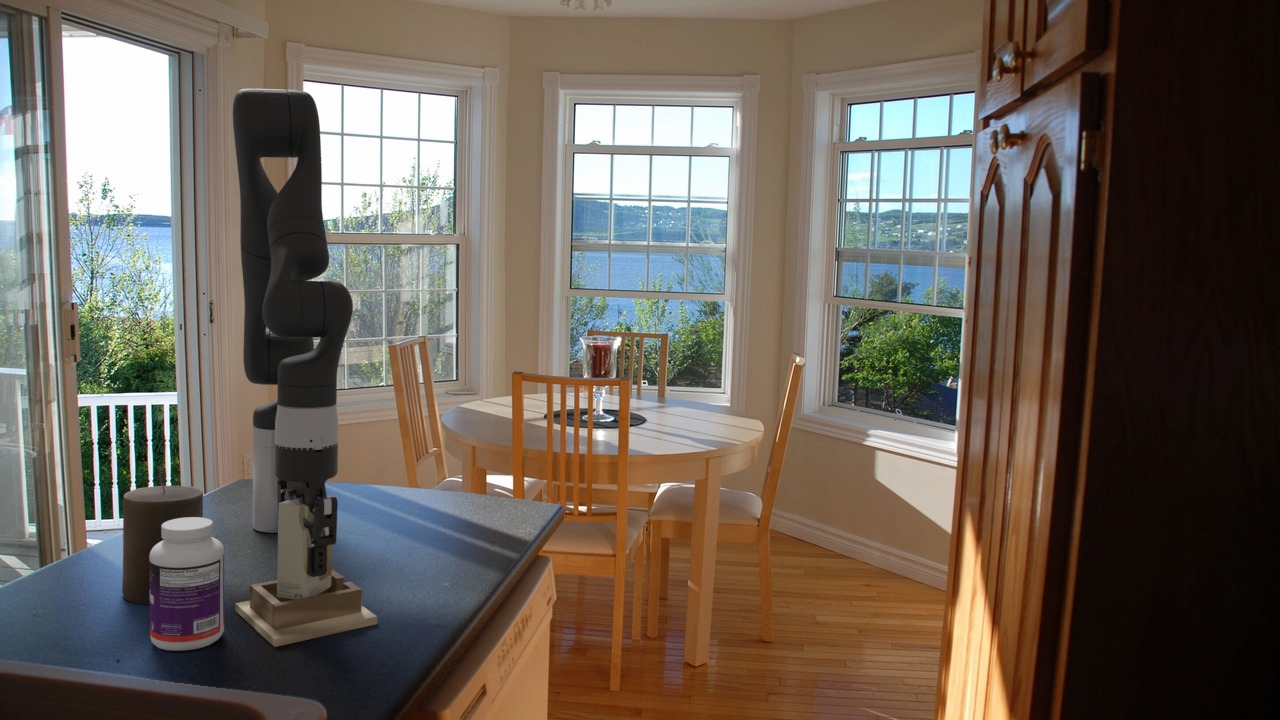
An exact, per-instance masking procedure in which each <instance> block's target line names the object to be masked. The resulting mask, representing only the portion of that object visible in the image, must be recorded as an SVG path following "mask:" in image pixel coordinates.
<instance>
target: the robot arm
mask: <svg viewBox="0 0 1280 720" xmlns="http://www.w3.org/2000/svg"><path fill="white" fill-rule="evenodd" d="M232 124H233V125H232V128H233V139H234V148H235V154H236V156H235V157H236V163H237V165H236V166H237V173H238V182H239V183H238V184H239V197H240V198H239V199H240V201H239V202H240V207H239V208H240V241H239V242H240V260H241V261H240V262H241V270H242V271H241V273H242V284H243V295H244V298H243V300H244V320H243V353H242V355H243V369H244V375H245V376H246V378H247V380H248V381H249V382H250V383H252V384H255V385H263V386H264V385H265V386H266V385H267V386H268V385H270V386H272V385H273V386H274V385H275V386H276V385H277V399H276V400H275V401H271V402H269V403H265V404H262V405H259V406H258V407H256V408H255V409H254V410H253V413H252V528H253V530H255V531H258V532H262V533H269V534H278V512H279V503H281V502H284V501H286V500H291V499H293V503H295V504H297V506H300V505H302V504H305V505H306V506H308V507H309V510H310V512H311V513H313V515H314V521H313V522H309V521H308V520H307V519H306V518H305V516H304V515H303V513H302V511H301V529H302V530H305V531H307V543H308V571H307V573H308V575H309V576H311V577H317V576H322V575H325V574H326V572H327V546H328V545H332V546H333V545H336V543H337V534H338V532H337V531H338V530H337V529H338V505H339V504H338V503H339V501H338V498H337V497H336V496H335V497H334V496H333V497H332V498H328V497H327V496H328V493H327V490H326V484H325V483H326V482H327V481H328V480H329V479H333V478H334V477H336V476H337V474H338V471H339V470H338V469H339V467H338V466H339V417H338V409H337V408H338V406H337V403H338V401H337V394H338V389H337V387H338V384H337V383H338V371H339V370H338V368H339V362H340V358H341V355H342V351H343V350H342V349H343V348H344V347H343V346H344V343H345V340H346V336H347V333H348V331H349V328H350V325H351V321H352V316H353V312H354V303H353V299H352V295H351V292H350V291H349V290H348V288H347V287H346V286H345V285H343V283H340V282H338V281H332V280H331V281H329V280H320V281H319V280H313V279H316V278H318V277H320V276H322V275H323V274H325V272H326V271H327V269H328V267H329V263H330V254H329V246H328V241H327V235H326V234H327V233H326V229H325V222H324V216H323V215H324V214H323V202H322V199H323V198H322V197H323V196H322V193H323V192H322V191H323V190H322V189H323V186H322V185H323V184H322V183H323V174H322V173H323V171H322V168H323V166H322V164H323V163H322V146H321V144H322V142H321V140H322V139H321V128H320V127H321V126H320V117H319V111H318V107H317V104H316V100H315V99H314V97H313V96H312V95H311V93H309V92H307V91H302V90H297V89H277V88H275V89H274V88H242V89H240V90H238V91H237V92H236V94H235V96H234V98H233V104H232ZM263 158H280V159H281V158H292V159H293V158H294V159H295V158H297V162H296V166H295V167H294V170H293V171H292V173H291V175H290V177H289V178H288V180H287V181H286V182H285V183H284V185H283V187H282V188H280V190H279V192H278V190H276V188H275V186H274V185H273V183H272V182H271V180H270V179H269V177H268V175H267V173H266V170H265V169H264V166H263V164H262V161H261V159H263ZM314 338H320V339H319V341H318V344H317V345H316V346H315V343H314ZM328 527H329V531H328ZM312 529H313V530H314V535H313V530H312ZM321 534H322V536H321Z"/></svg>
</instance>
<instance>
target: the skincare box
mask: <svg viewBox="0 0 1280 720" xmlns="http://www.w3.org/2000/svg"><path fill="white" fill-rule="evenodd" d="M327 497H328V498H332V497H334V496H333V495H331V496H330V495H327ZM301 511H302V513H303V515H304V516H305V518H306V519H307V520H308V521H309V522H313V521H314V515H313V513H311V512H310V510H309V507H308V506H306V505H305V504H302V505H300V506H297V504H295V503H293V499H291V500H286V501H284V502H281V503H279V512H278V533H277V571H276V577H277V579H276V580H277V597H280V598H288V599H300V598H306V597H311V596H316V595H318V594H320V593H321V592H323V591H325V590H326V589H328V588H330V587H331V570H332V562H333V561H332V556H333V552H332V551H333V544H332V545H328V546H327V572H326V574H325V575H322V576H317V577H311V576H309V575H308V573H307V571H308V543H307V531H305V530H302V529H301ZM312 530H313V529H312ZM328 531H329V527H328ZM313 535H314V530H313ZM321 536H322V534H321Z"/></svg>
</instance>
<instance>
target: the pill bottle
mask: <svg viewBox="0 0 1280 720" xmlns="http://www.w3.org/2000/svg"><path fill="white" fill-rule="evenodd" d="M213 532H214V522H213V520H212V519H210V518H208V517H207V518H206V517H203V518H201V517H186V518H177V519H173V520H169V521H166V522H164V523H163V524H162V526H161V535H162V539H164V540H163V541H161V542H159V543H158V544H156V545H155V546H154V547H153V548H152V550H151V552H150V557H149V558H150V560H149V565H150V604H149V636H150V641H151V643H152V644H153V645H155V647H157V648H158V649H160V650H164V651H172V652H173V651H175V652H178V651H179V652H181V651H191V650H197V649H202V648H205V647H207V646H210V645H212V644H213V643H215V642H217V641H218V640H219V639H221V636H222V635H223V633H224V631H225V548H224V547H225V546H224V545H223V543H222V542H221V541H220V540H218V539H217V538H216V537H213V534H214V533H213Z"/></svg>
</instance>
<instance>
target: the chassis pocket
mask: <svg viewBox="0 0 1280 720" xmlns="http://www.w3.org/2000/svg"><path fill="white" fill-rule="evenodd" d="M362 589H363V588H360V587H359V586H357V585H356V584H354V583H353V582H352V581H347V582H345V577H344V576H343V575H341V574H340V573H338V572H337V571H336V570H334V569H331V587H330V588H328V589H326V590H325V591H323V592H321V593H320V594H318V595H316V596H311V597H306V598H300V599H288V598H280V597H277V579H276V580H269V581H266V582H264V581H263V582H259V583H253V584H250V585H249V600H245V601H240V602H236V603H235V606H234V607H235V608H234V609H235V612H236V613H237V614H238V615H239V616H240V617H242V618H243V619H244V620H245V621H246V623H248V624H249V625H250V626H251V627H252V628H254V629H255V631H256V632H257V633H258V634H259V635H261V636H262V637H263V638H264V639H265V640H266V641H267V642H268V643H269V644H270V645H271V646H273V647H274V648H278V647H281V646H286V645H289V644H293V643H299V642H303V641H308V640H311V639H317V638H321V637H326V636H330V635H334V634H339V633H344V632H349V631H352V630H357V629H360V628H366V627H370V626H375V625H378V615H376V614H375V613H373V612H371V610H369V609H368V608H366V607H365V606H363V605H362V601H363V600H362V598H363V597H362V595H363V593H362V592H363V591H362Z"/></svg>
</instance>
